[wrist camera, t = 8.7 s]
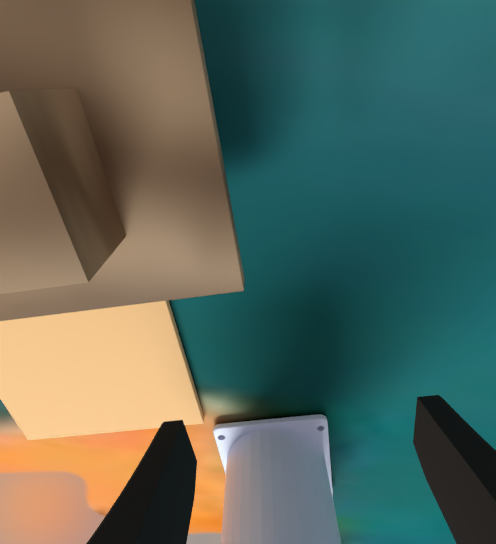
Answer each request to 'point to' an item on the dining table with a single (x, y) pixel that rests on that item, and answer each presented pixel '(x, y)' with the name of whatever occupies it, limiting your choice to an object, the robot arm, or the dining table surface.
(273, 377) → the dining table surface
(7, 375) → the mat
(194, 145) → the lid
